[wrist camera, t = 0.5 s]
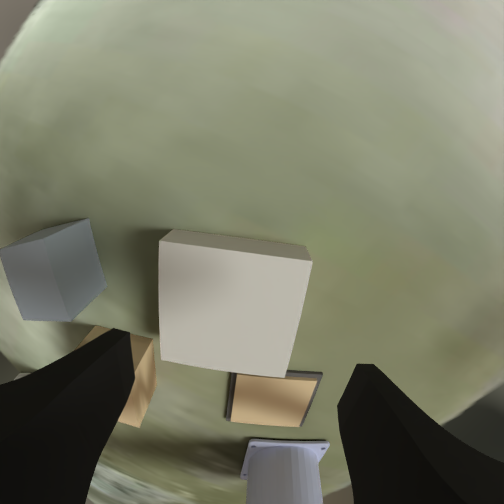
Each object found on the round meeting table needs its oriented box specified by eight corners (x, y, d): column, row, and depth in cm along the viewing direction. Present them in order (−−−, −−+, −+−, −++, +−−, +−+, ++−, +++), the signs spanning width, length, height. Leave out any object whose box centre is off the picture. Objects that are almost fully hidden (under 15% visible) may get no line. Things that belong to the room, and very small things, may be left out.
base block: (282, 350, 20) (284, 377, 17) (173, 334, 20) (161, 359, 17) (304, 244, 17) (312, 261, 15) (175, 227, 17) (159, 240, 14)
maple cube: (157, 384, 21) (139, 427, 17) (105, 370, 21) (81, 408, 17) (153, 338, 20) (129, 382, 15) (96, 324, 20) (64, 361, 15)
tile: (301, 423, 22) (302, 429, 22) (226, 417, 22) (225, 423, 22) (322, 372, 20) (323, 377, 19) (232, 364, 20) (232, 369, 19)
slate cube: (107, 286, 18) (71, 321, 14) (60, 289, 19) (23, 319, 14) (89, 217, 17) (43, 238, 12) (42, 229, 17) (-2, 249, 13)
